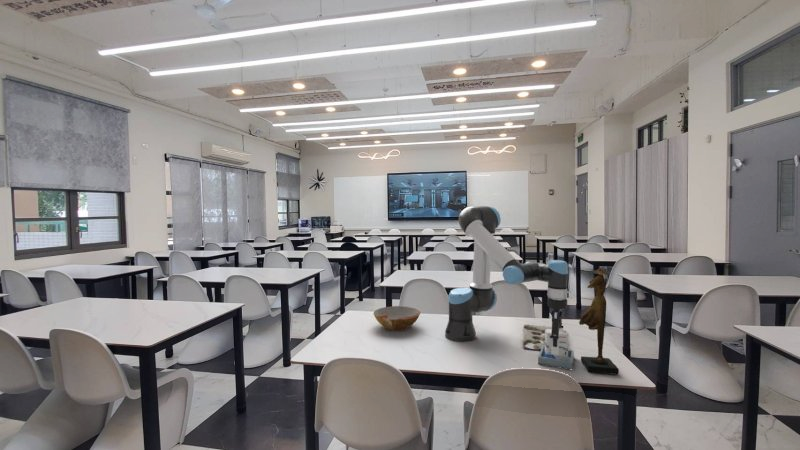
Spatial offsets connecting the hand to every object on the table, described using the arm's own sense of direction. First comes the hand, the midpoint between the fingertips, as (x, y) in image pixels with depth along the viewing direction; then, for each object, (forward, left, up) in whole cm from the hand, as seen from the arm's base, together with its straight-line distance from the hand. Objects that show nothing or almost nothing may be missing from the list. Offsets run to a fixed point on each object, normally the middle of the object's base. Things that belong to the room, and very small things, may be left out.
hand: (556, 348), depth 154 cm
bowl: (-80, +8, -5) cm, 81 cm away
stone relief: (-7, +24, -6) cm, 26 cm away
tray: (0, 0, -5) cm, 5 cm away
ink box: (0, 0, -5) cm, 5 cm away
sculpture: (+15, -1, -5) cm, 16 cm away
